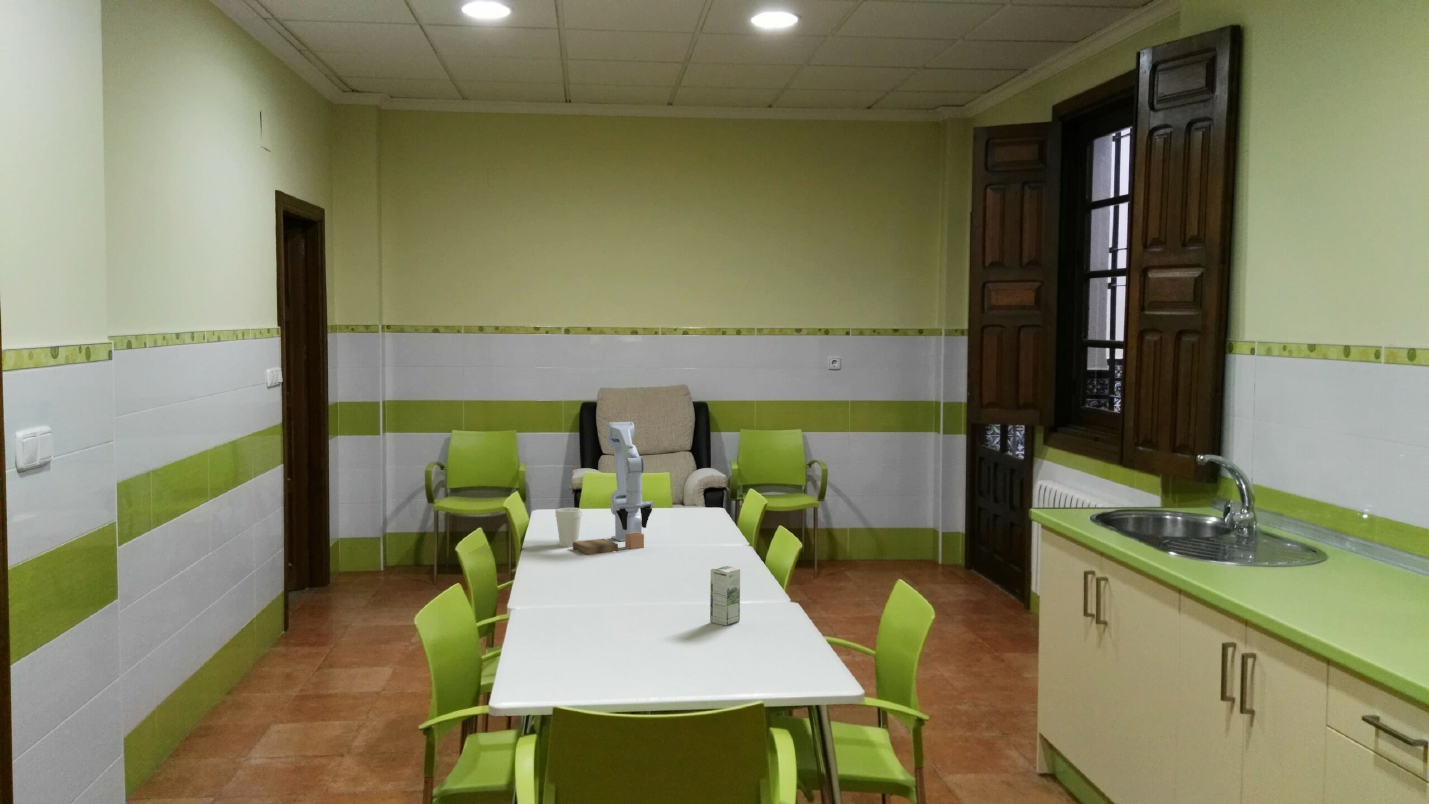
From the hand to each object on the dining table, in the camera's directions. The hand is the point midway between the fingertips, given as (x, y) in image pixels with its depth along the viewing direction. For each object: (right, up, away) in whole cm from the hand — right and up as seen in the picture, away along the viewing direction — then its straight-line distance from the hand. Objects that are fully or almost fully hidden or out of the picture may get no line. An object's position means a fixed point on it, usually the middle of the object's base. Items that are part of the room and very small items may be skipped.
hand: (634, 528), depth 379 cm
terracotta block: (0, -7, +1) cm, 7 cm away
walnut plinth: (-14, -8, -4) cm, 16 cm away
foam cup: (-24, -7, +5) cm, 26 cm away
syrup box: (+32, -13, -99) cm, 105 cm away
